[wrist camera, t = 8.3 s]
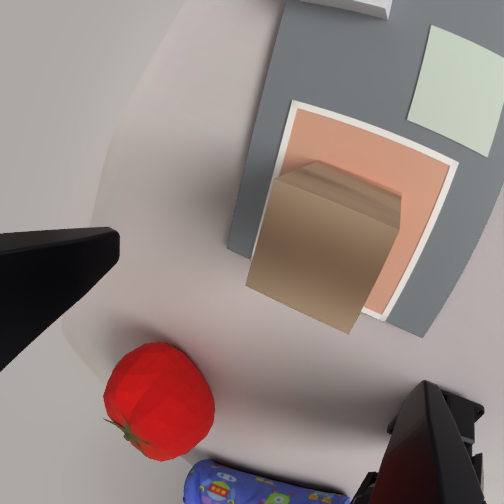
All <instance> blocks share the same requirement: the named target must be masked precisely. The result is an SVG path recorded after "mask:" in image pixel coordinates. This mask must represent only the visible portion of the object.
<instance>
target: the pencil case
mask: <svg viewBox="0 0 504 504" xmlns="http://www.w3.org/2000/svg"><path fill="white" fill-rule="evenodd" d="M183 502H184V503H185V504H350V497H347V496H345V495H339V494H335V493H326V492H321V491H316V490H312V489H306V488H302V487H298V486H294V485H291V484H287V483H283V482H279V481H274V480H270V479H267V478H264V477H260V476H256V475H252V474H248V473H245V472H241V471H238V470H234V469H231V468H228V467H226V466H222V465H219V464H217V463H216V462H214V461H212V460H209V459H204V460H201V461H199V462H197V463H196V464H195V465H194V466H193V467H192V469H191V470H190V472H189V473H188V475H187V478H186V481H185V485H184V497H183Z"/></svg>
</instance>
